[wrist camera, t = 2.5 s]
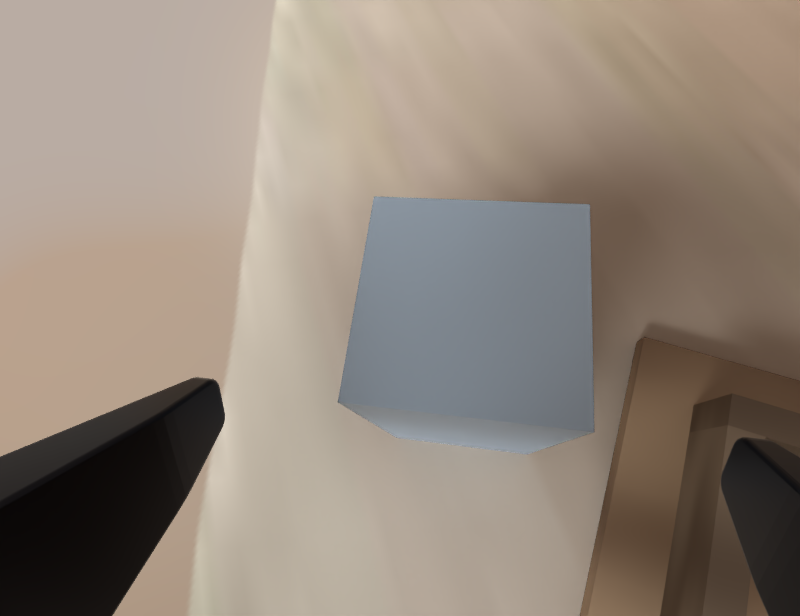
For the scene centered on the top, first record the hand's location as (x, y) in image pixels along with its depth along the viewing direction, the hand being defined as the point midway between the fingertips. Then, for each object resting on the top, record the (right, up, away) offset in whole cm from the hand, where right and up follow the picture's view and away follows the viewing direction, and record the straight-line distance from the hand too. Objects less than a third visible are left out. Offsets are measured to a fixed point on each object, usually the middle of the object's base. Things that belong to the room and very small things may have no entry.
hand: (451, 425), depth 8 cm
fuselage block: (+2, -1, +10) cm, 10 cm away
